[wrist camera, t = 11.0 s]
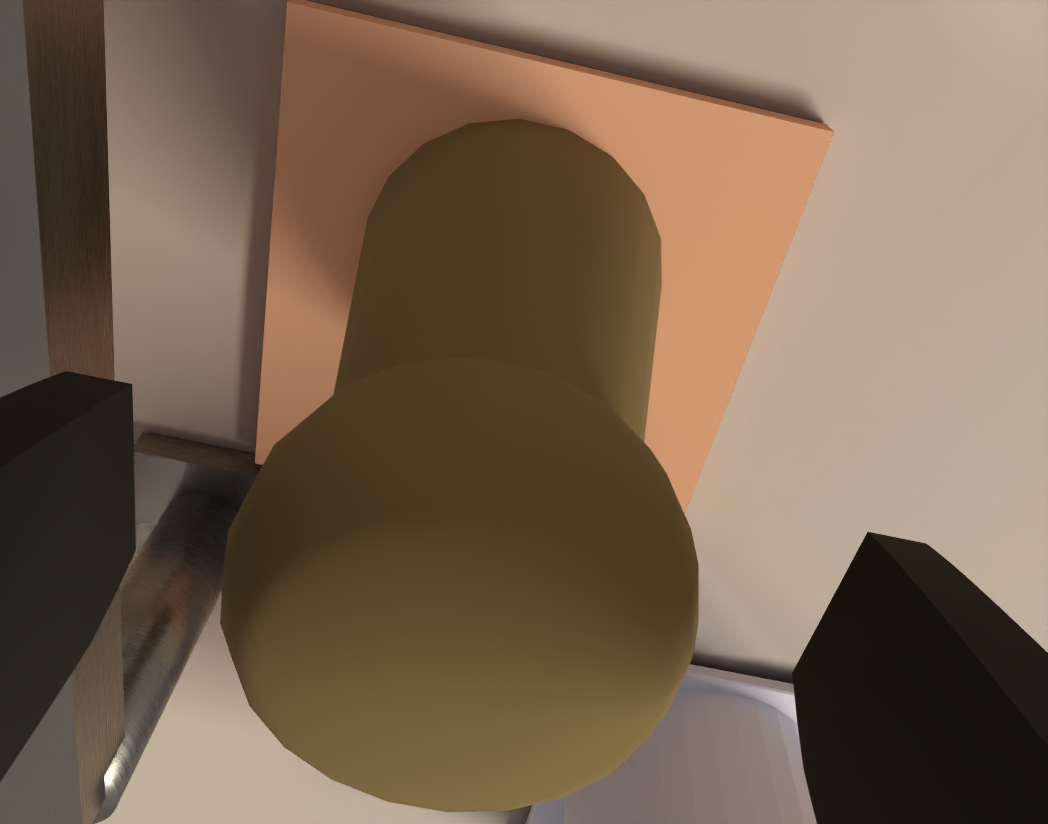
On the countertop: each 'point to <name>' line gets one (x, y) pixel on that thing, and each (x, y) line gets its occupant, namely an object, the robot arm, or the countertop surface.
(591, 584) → the cork
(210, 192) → the countertop surface
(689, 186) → the mat
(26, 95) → the bent rail
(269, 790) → the countertop surface
